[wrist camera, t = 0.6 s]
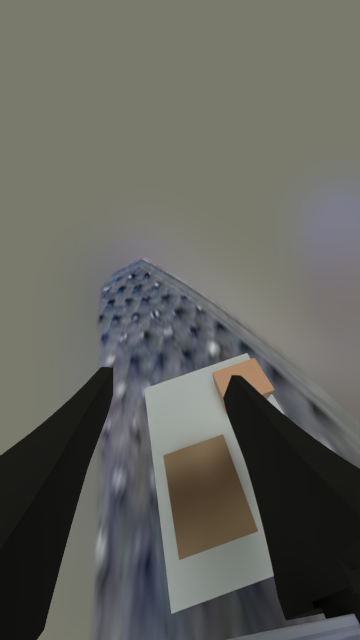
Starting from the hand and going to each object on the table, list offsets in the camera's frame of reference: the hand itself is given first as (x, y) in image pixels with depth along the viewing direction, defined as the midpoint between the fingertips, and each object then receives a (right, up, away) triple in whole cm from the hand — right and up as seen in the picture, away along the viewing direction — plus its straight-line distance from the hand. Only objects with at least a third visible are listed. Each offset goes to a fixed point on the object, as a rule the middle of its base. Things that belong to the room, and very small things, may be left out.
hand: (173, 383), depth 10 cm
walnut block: (+4, -15, +9) cm, 18 cm away
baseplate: (+6, -12, +12) cm, 18 cm away
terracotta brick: (+9, -6, +14) cm, 18 cm away
